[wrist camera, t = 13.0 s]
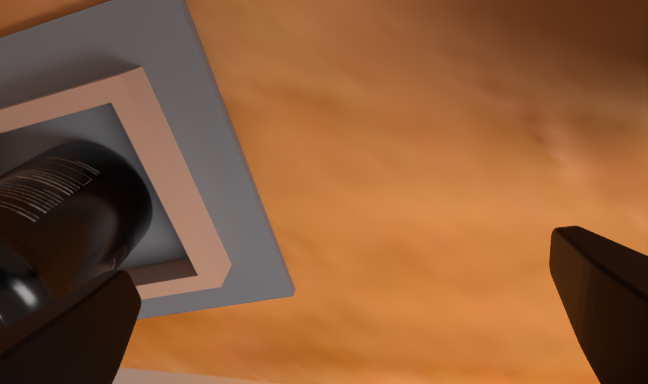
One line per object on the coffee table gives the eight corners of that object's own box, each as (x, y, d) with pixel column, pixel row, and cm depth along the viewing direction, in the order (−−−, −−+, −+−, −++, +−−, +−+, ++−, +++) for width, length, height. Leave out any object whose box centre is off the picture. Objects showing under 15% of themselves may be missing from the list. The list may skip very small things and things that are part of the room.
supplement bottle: (19, 189, 24) (-266, 359, 13) (78, 113, 21) (-217, 248, 10) (116, 264, 26) (-63, 466, 15) (182, 202, 23) (21, 394, 12)
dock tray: (176, -21, 18) (149, -21, 16) (294, 289, 26) (287, 319, 24) (-121, 79, 22) (-177, 91, 20) (59, 325, 30) (32, 354, 27)
